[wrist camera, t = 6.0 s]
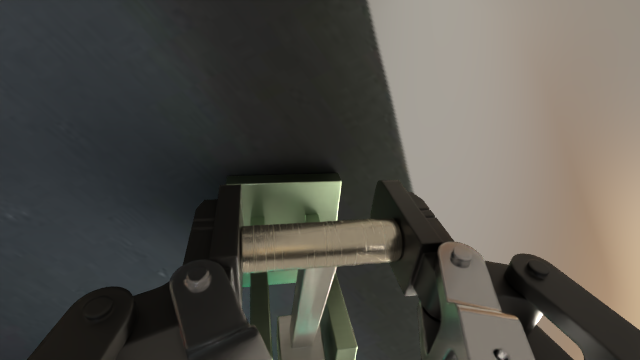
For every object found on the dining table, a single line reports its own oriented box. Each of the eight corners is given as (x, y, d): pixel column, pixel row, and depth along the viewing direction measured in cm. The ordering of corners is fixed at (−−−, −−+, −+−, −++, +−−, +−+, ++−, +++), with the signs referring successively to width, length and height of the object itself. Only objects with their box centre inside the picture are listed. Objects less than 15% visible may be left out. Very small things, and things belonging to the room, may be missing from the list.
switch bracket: (226, 175, 23) (208, 325, 13) (338, 172, 24) (399, 304, 14) (235, 277, 28) (226, 441, 18) (326, 269, 29) (366, 416, 19)
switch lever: (240, 204, 10) (238, 275, 9) (389, 198, 11) (414, 260, 10) (252, 337, 19) (252, 385, 17) (335, 327, 20) (343, 371, 18)
